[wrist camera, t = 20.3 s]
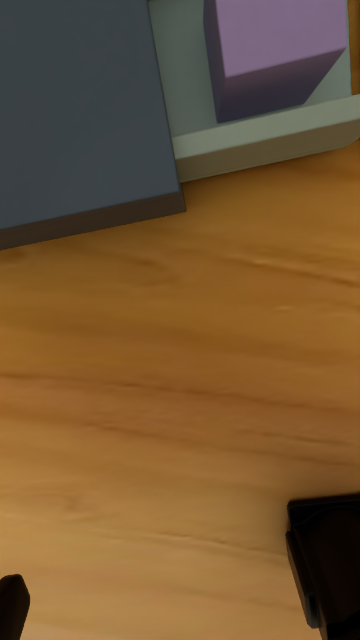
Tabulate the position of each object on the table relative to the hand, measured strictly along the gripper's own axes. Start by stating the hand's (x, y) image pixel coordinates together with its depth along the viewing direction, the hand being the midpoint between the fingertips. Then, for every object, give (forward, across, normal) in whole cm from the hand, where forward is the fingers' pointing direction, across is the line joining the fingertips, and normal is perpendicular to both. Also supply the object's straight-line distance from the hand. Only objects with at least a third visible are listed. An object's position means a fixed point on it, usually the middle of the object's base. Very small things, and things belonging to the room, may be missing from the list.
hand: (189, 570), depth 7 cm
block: (+10, -5, -15) cm, 19 cm away
